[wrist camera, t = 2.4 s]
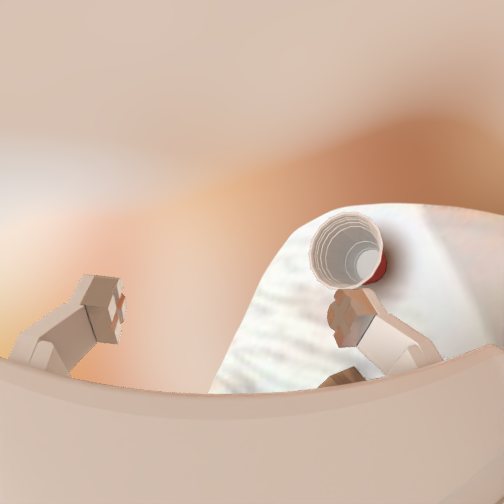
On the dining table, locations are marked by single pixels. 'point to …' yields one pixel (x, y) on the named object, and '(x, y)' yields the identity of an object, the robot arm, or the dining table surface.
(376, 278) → the plastic cup
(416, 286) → the dining table surface
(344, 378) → the walnut block
